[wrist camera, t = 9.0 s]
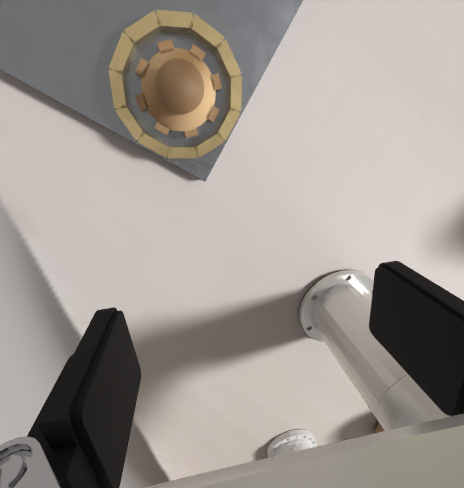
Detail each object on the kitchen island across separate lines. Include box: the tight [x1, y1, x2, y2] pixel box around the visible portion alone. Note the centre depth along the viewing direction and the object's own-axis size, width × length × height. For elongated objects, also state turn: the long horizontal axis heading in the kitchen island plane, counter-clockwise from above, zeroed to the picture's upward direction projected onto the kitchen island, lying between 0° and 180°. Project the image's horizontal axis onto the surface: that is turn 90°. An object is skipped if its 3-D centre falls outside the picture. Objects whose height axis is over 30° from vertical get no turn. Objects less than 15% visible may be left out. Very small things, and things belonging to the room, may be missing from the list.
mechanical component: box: [267, 429, 316, 458], centre depth 53 cm, size 10×4×10 cm
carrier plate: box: [0, 0, 303, 181], centre depth 22 cm, size 20×22×4 cm
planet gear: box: [135, 39, 222, 138], centre depth 23 cm, size 8×8×6 cm
